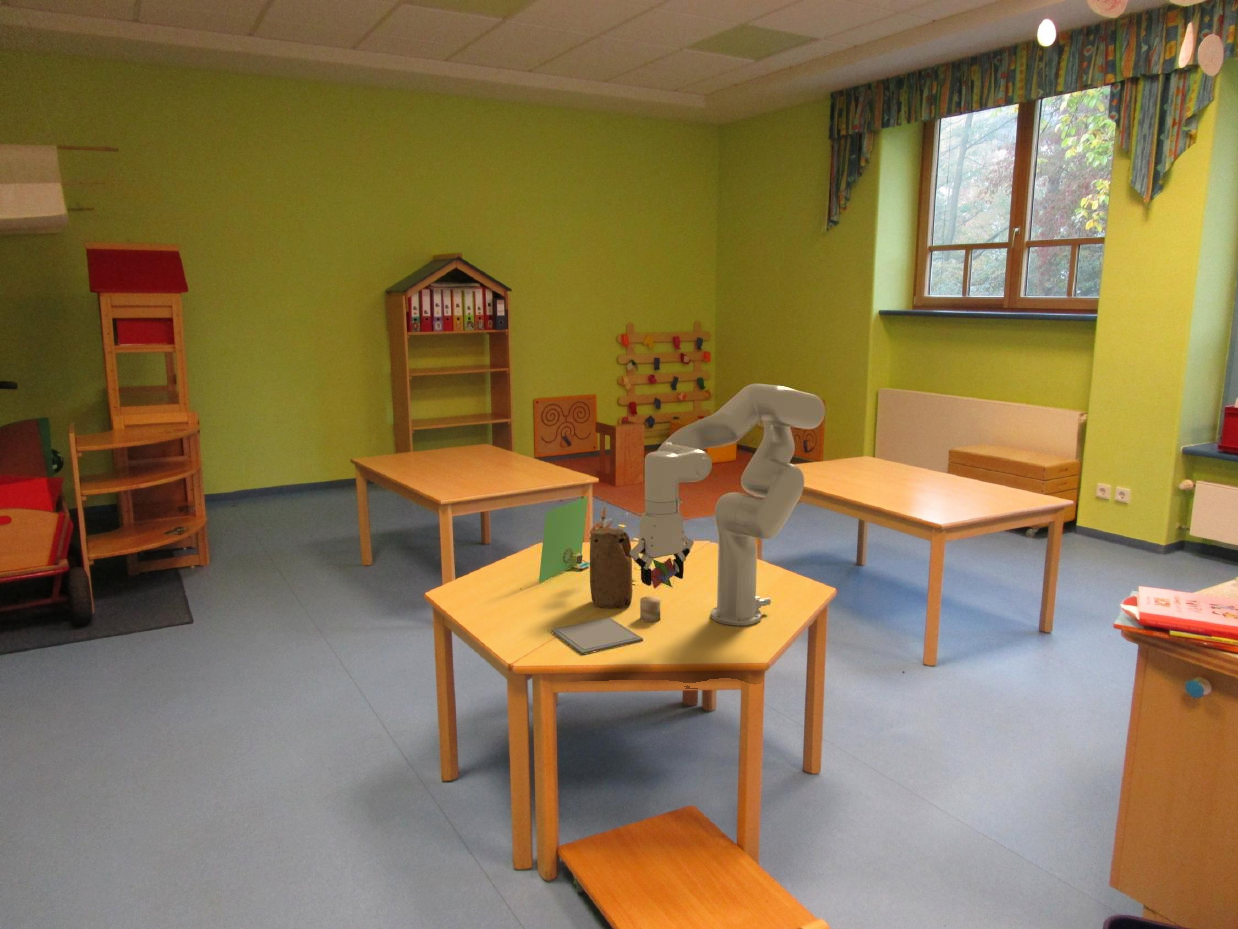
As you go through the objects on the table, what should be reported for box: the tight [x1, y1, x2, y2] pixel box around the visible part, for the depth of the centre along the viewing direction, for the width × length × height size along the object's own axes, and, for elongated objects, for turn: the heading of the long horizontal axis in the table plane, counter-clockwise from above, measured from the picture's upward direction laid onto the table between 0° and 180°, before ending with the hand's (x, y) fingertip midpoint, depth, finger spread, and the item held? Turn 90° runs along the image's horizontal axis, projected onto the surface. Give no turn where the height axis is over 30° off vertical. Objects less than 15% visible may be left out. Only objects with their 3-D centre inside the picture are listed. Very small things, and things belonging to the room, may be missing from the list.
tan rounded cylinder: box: [639, 595, 662, 624], centre depth 218 cm, size 5×5×5 cm
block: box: [589, 527, 633, 609], centre depth 227 cm, size 11×8×20 cm
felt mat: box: [550, 616, 644, 655], centre depth 208 cm, size 16×16×1 cm
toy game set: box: [538, 495, 641, 585], centre depth 246 cm, size 22×25×24 cm
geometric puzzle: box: [649, 557, 679, 590], centre depth 201 cm, size 7×7×8 cm
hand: (662, 580), depth 201 cm, fingers closed on geometric puzzle, 8 cm apart
